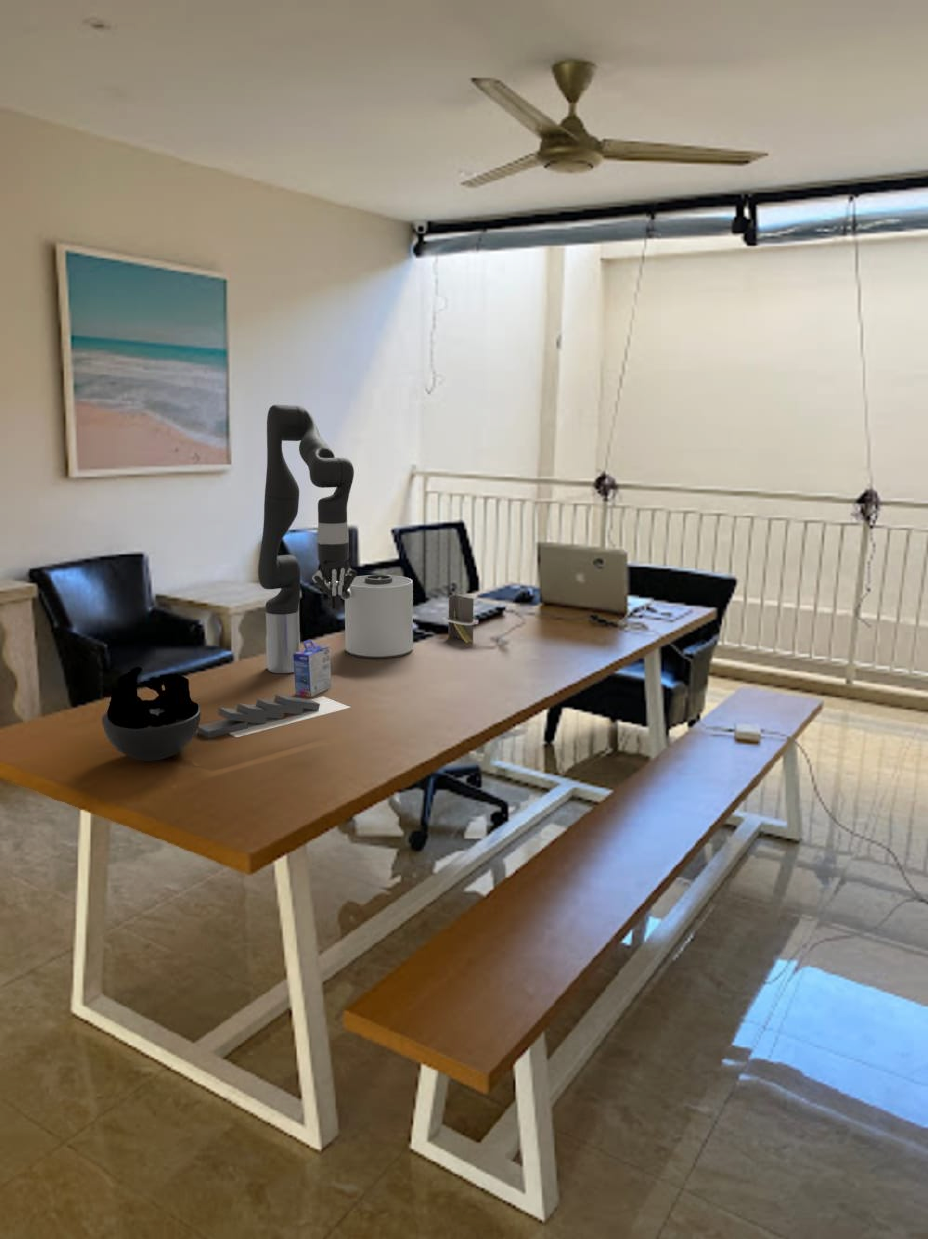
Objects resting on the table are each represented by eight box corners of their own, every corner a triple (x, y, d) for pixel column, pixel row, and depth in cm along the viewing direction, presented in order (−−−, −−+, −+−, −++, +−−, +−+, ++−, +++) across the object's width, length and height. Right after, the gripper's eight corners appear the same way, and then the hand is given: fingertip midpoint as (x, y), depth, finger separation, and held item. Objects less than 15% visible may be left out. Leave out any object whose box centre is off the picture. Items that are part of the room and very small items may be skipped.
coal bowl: (203, 770, 190) (198, 683, 185) (101, 780, 184) (93, 691, 180) (202, 737, 208) (197, 658, 204) (109, 745, 203) (102, 664, 198)
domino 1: (247, 728, 212) (208, 738, 205) (236, 723, 215) (197, 732, 208) (247, 721, 211) (207, 731, 205) (236, 716, 215) (197, 726, 208)
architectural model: (465, 653, 284) (465, 607, 281) (412, 638, 301) (412, 595, 298) (508, 642, 298) (509, 599, 294) (455, 629, 315) (455, 588, 312)
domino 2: (265, 723, 215) (228, 719, 208) (254, 718, 218) (217, 714, 211) (266, 717, 215) (230, 713, 208) (255, 712, 218) (219, 707, 211)
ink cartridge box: (315, 687, 246) (313, 635, 243) (332, 690, 244) (331, 638, 241) (293, 697, 238) (291, 644, 235) (311, 700, 235) (309, 646, 232)
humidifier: (407, 660, 274) (407, 584, 269) (338, 658, 276) (337, 582, 270) (417, 643, 295) (416, 572, 290) (353, 641, 296) (352, 570, 291)
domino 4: (301, 714, 222) (267, 710, 215) (290, 709, 225) (255, 705, 218) (303, 708, 222) (268, 704, 215) (291, 703, 225) (257, 699, 218)
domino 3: (282, 719, 218) (247, 714, 211) (271, 714, 222) (236, 709, 215) (284, 712, 218) (249, 708, 211) (273, 707, 222) (238, 703, 215)
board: (210, 728, 215) (210, 723, 214) (323, 700, 236) (323, 695, 236) (236, 741, 206) (236, 736, 206) (350, 711, 228) (350, 706, 227)
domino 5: (318, 710, 225) (285, 705, 218) (307, 705, 228) (274, 701, 221) (320, 703, 225) (286, 699, 218) (308, 699, 228) (275, 694, 221)
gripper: (346, 536, 229) (347, 603, 233) (301, 541, 221) (303, 611, 224) (364, 539, 224) (365, 608, 228) (319, 544, 215) (321, 616, 219)
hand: (334, 609), depth 226 cm, fingers closed
